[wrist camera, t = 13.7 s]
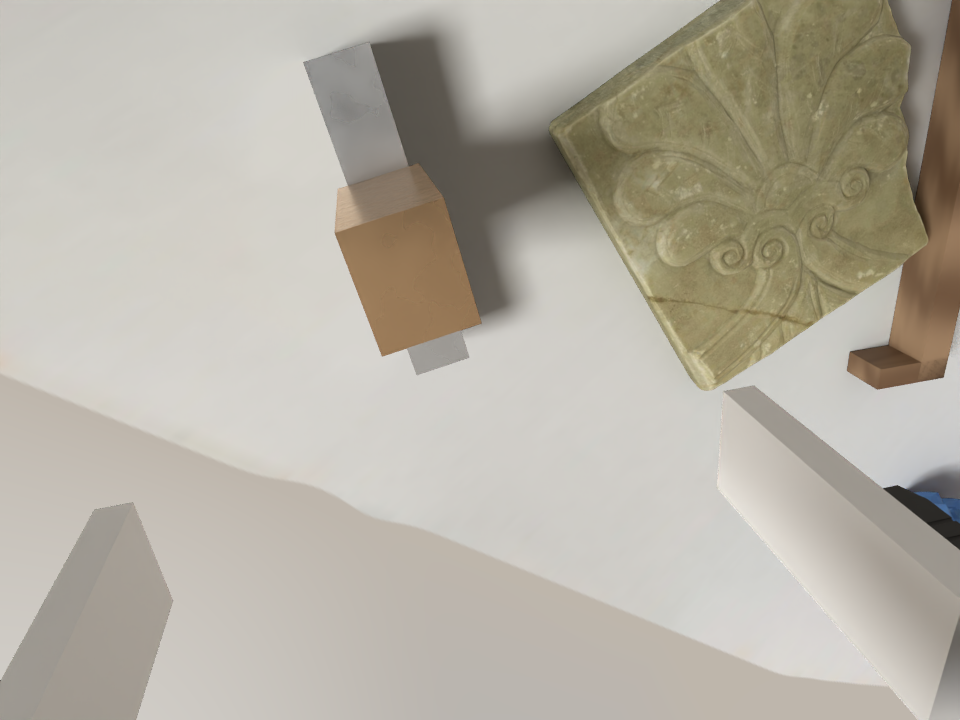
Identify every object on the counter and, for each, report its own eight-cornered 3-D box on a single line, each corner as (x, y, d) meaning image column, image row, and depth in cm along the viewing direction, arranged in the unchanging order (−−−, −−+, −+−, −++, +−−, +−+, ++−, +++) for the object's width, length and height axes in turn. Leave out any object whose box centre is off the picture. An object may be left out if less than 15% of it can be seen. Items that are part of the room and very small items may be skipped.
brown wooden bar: (917, -77, 36) (964, -89, 33) (999, -84, 36) (1051, -96, 34) (846, 370, 47) (877, 389, 44) (909, 359, 48) (943, 377, 45)
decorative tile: (686, 380, 46) (712, 404, 42) (539, 127, 37) (557, 132, 34) (924, 222, 44) (970, 234, 41) (828, -83, 35) (876, -97, 32)
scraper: (299, 65, 33) (270, 66, 21) (375, 42, 33) (393, 28, 21) (401, 343, 40) (425, 469, 28) (463, 322, 40) (516, 439, 28)
